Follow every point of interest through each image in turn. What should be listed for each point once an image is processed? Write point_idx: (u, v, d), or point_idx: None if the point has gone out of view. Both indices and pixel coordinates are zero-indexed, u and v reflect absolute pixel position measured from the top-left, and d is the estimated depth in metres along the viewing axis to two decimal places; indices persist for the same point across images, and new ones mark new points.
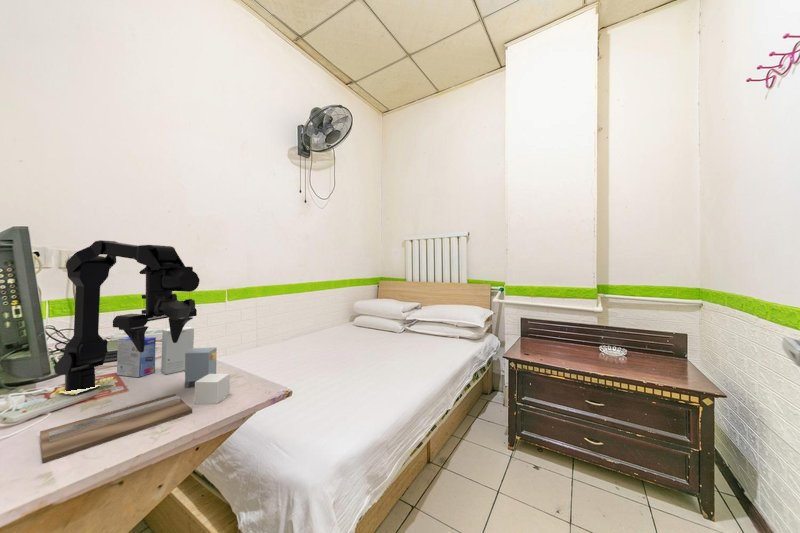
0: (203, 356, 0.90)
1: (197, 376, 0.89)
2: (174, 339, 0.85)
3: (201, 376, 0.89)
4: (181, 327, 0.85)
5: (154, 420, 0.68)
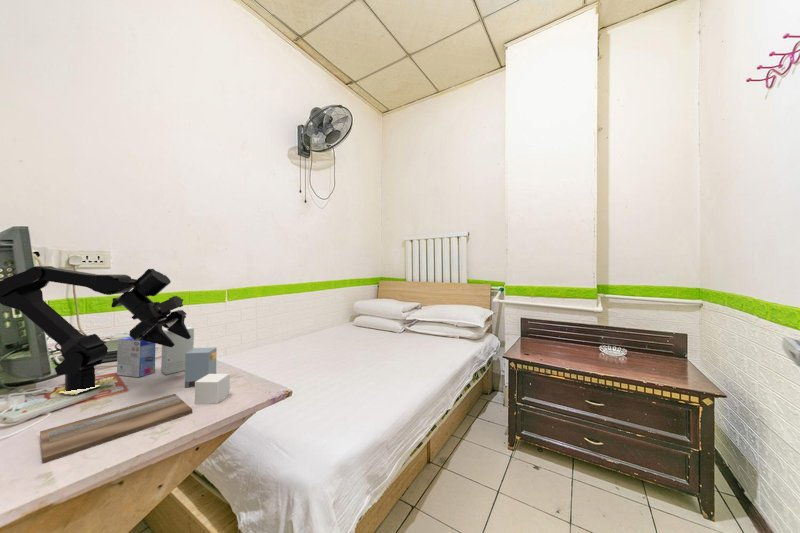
0: (203, 356, 0.90)
1: (197, 376, 0.89)
2: (186, 336, 0.95)
3: (201, 376, 0.89)
4: (184, 325, 0.96)
5: (154, 420, 0.68)
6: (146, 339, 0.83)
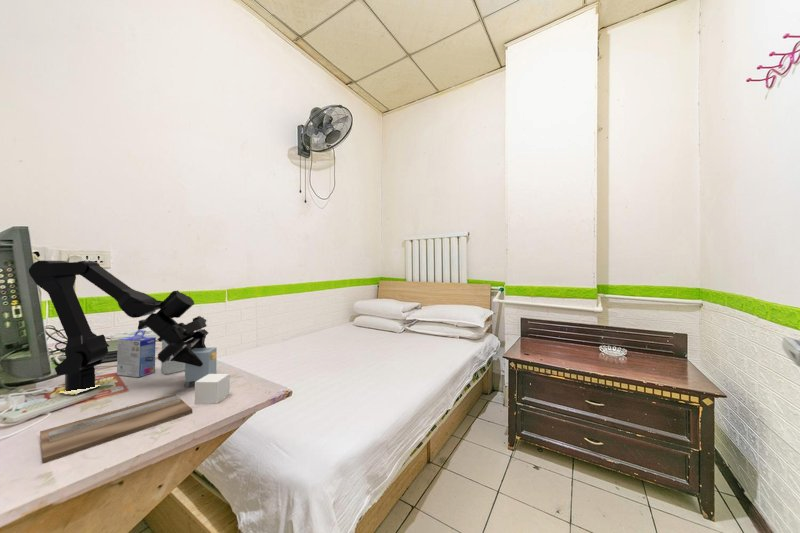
0: (203, 356, 0.90)
1: (197, 376, 0.89)
2: None
3: (201, 376, 0.89)
4: (204, 346, 0.95)
5: (154, 420, 0.68)
6: (176, 359, 0.86)
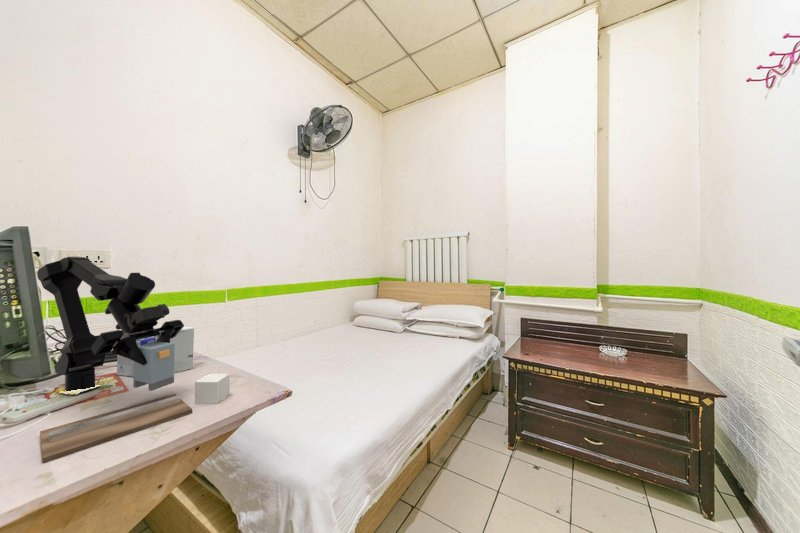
0: (147, 352, 0.73)
1: (142, 376, 0.74)
2: None
3: (145, 377, 0.73)
4: (167, 340, 0.80)
5: (154, 420, 0.68)
6: (120, 353, 0.73)
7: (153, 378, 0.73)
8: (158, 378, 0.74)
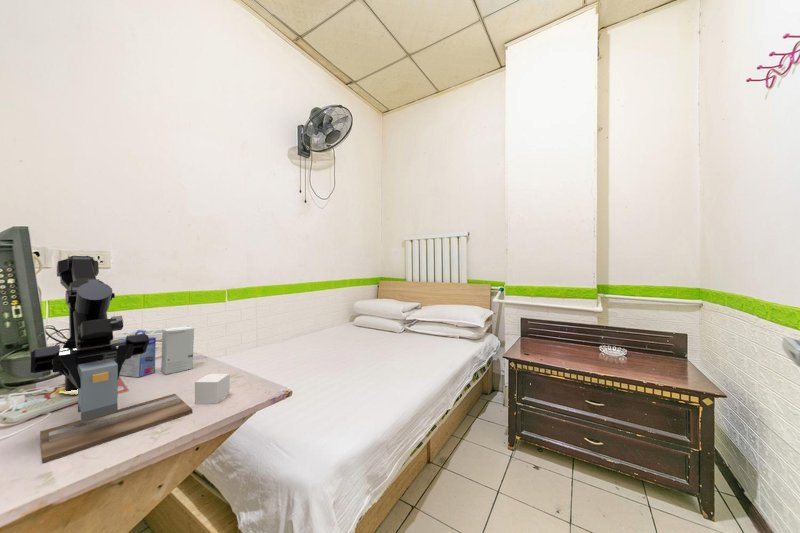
0: (80, 374, 0.62)
1: (79, 401, 0.63)
2: None
3: (80, 403, 0.63)
4: (120, 358, 0.69)
5: (154, 420, 0.68)
6: (62, 371, 0.64)
7: (85, 406, 0.62)
8: (93, 406, 0.63)
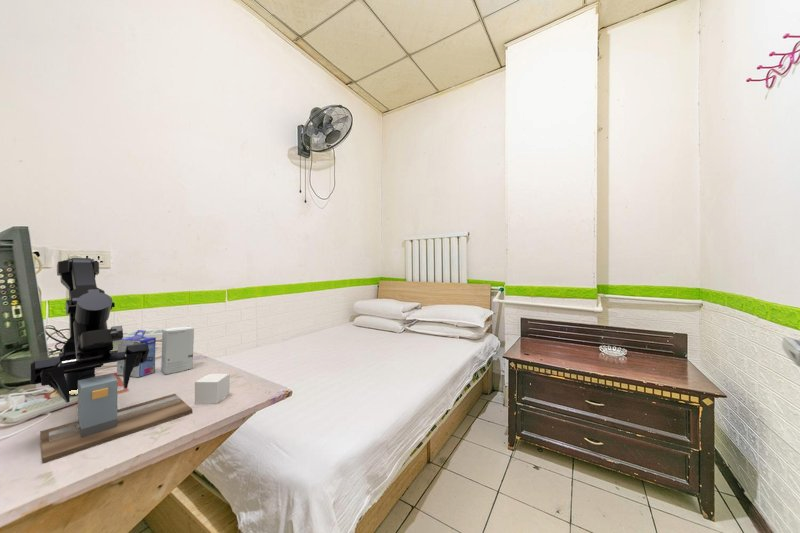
0: (80, 391, 0.62)
1: (79, 417, 0.63)
2: (124, 383, 0.68)
3: (80, 419, 0.62)
4: (128, 367, 0.70)
5: (154, 420, 0.68)
6: (51, 384, 0.63)
7: (84, 423, 0.62)
8: (92, 422, 0.63)
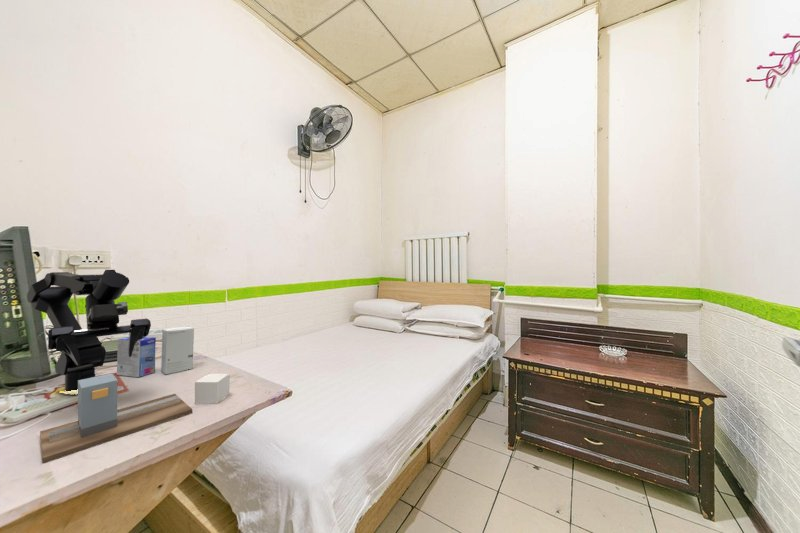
0: (80, 391, 0.62)
1: (79, 417, 0.63)
2: (128, 352, 0.78)
3: (80, 419, 0.62)
4: (133, 338, 0.79)
5: (154, 420, 0.68)
6: (65, 350, 0.72)
7: (84, 423, 0.62)
8: (92, 422, 0.63)
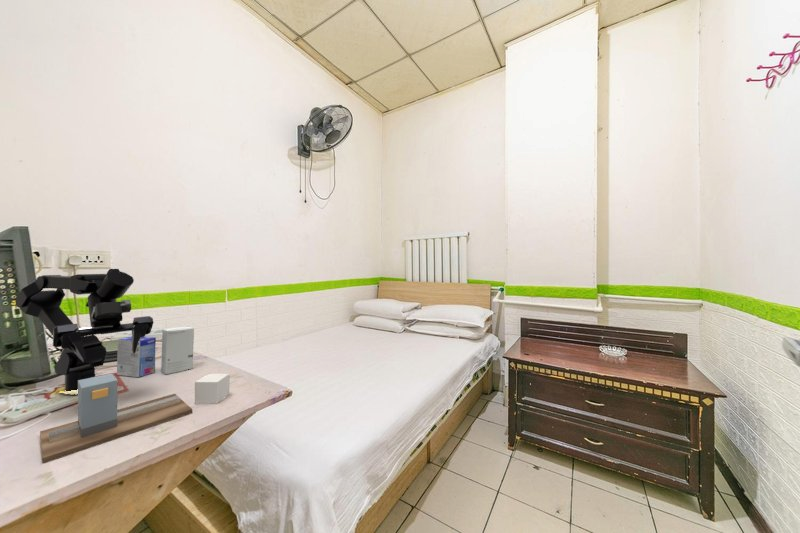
0: (80, 391, 0.62)
1: (79, 417, 0.63)
2: (132, 349, 0.79)
3: (80, 419, 0.62)
4: (136, 335, 0.81)
5: (154, 420, 0.68)
6: (70, 347, 0.74)
7: (84, 423, 0.62)
8: (92, 422, 0.63)
